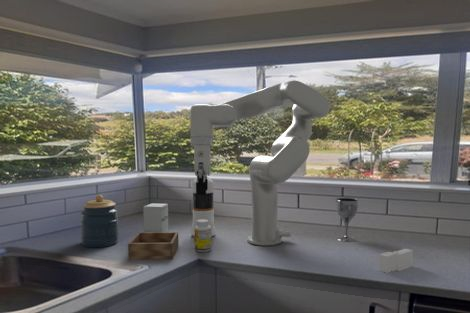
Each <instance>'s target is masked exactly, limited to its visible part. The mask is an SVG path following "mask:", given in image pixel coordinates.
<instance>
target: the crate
mask: <svg viewBox="0 0 470 313" xmlns="http://www.w3.org/2000/svg"><path fill="white" fill-rule="evenodd" d="M127 245H128V246H127V250H128V251H127V253H128V254H127V258H128V260H173V259H174V258H175V254H176V253H177V251H178V248H179V232H178V231H170V232H169V231H168V232H144V231H143V232H142V231H141V232H137V233H136V234H135V235H134V237H133V238H132V239H131V240H130V241H129V242H128V243H127Z"/></svg>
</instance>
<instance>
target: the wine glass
mask: <svg viewBox="0 0 470 313" xmlns="http://www.w3.org/2000/svg"><path fill="white" fill-rule="evenodd" d="M335 207H336V213H337V215H338V217H339V218H340V219H341V220H342V222H343V223H344V228H345V231H344V232H345V234H344V235H343V236H337V237H336V240H338V241H341V242H348V243H349V242H350V243H351V242H355V241H357V238H355V237H353V236H349V235H348V230H349V225H350V223H351V221H352V220H353V219H354V218H355V217H356V215H357V212H358V208H359V199H358V198H355V197H354V198H353V197H337V198H336V199H335Z"/></svg>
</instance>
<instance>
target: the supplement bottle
mask: <svg viewBox="0 0 470 313" xmlns="http://www.w3.org/2000/svg"><path fill="white" fill-rule="evenodd" d="M194 249H195V251H196V252H198V253H199V252H200V253H207V252H210V251H211V250H212V237H211V226H209V221H208V220H206V219H201V220H197V226H195V237H194Z"/></svg>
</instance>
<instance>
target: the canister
mask: <svg viewBox="0 0 470 313" xmlns="http://www.w3.org/2000/svg"><path fill="white" fill-rule="evenodd" d="M116 205H117V204H116V202H115V201H112V200H111V199H104V196H103V195H102V194H97V195H96V196H95V199H93V200H88V201H86V202H85V203H84V204H83V205H82V207H83V210H81V211H80V214H81V215H82V217H81V218H82V219H81V221H80V224H81V238H80V239H81V240H80V242H81V244H82V246H83V247H87V248H105V247H110V246H113V245H116V244H117V243H118V242H119V239H120V235H119V234H120V233H119V217H118V212H119V208H117V207H116Z"/></svg>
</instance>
